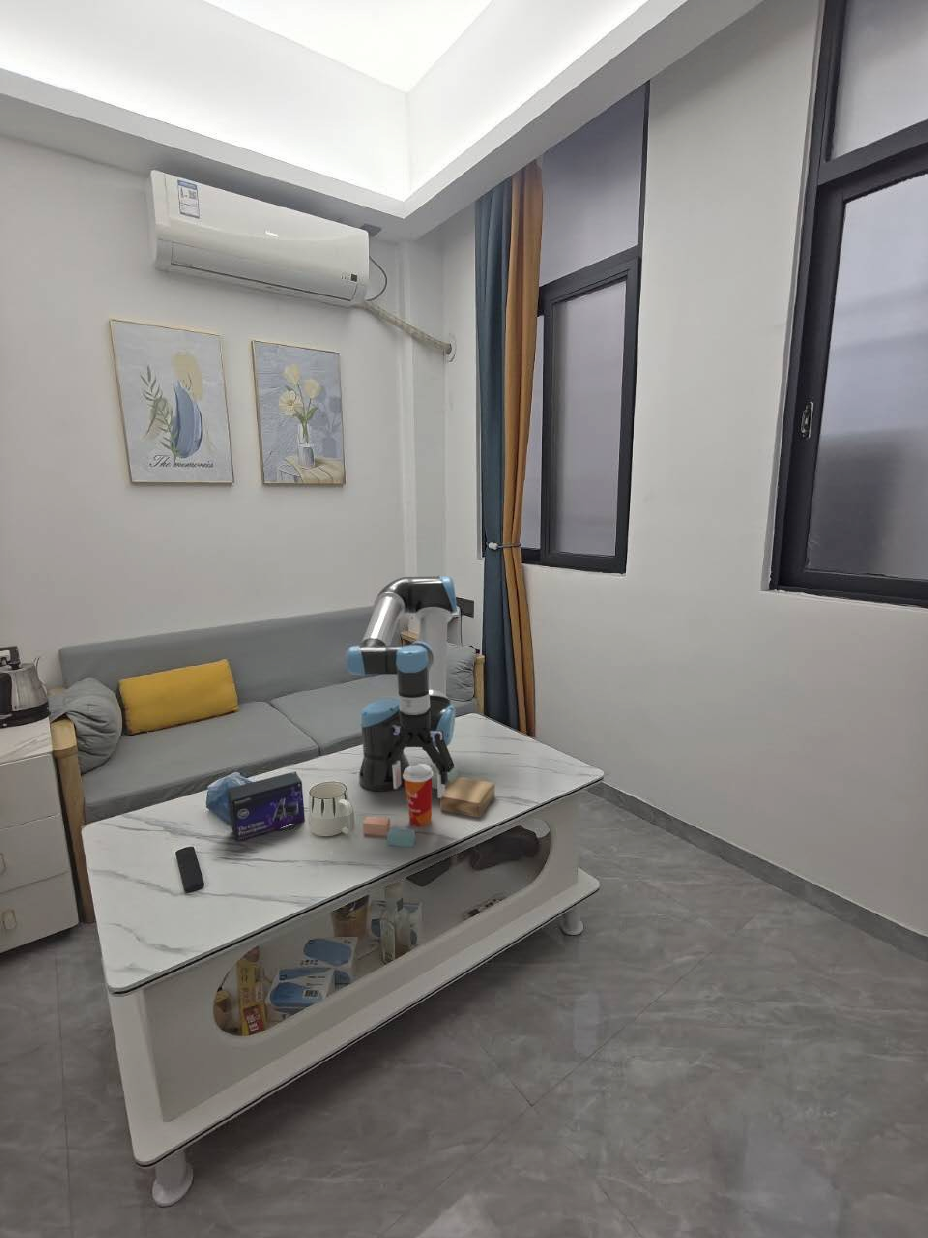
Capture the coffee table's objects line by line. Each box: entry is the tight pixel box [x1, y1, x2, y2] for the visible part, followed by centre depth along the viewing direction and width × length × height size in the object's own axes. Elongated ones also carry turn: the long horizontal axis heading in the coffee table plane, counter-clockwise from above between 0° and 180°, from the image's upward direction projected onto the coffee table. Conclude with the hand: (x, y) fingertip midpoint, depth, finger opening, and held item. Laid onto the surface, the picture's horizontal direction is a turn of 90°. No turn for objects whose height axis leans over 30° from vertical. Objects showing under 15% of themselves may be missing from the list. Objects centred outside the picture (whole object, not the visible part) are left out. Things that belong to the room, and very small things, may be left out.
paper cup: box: [403, 763, 434, 827], centre depth 146 cm, size 8×8×14 cm
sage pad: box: [429, 764, 458, 790], centre depth 166 cm, size 8×8×3 cm
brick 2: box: [386, 826, 416, 848], centre depth 138 cm, size 6×3×3 cm, turn 75°
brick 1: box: [362, 816, 392, 836], centre depth 143 cm, size 6×3×3 cm, turn 80°
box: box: [226, 770, 306, 843], centre depth 145 cm, size 17×7×12 cm, turn 121°
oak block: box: [439, 776, 495, 818], centre depth 154 cm, size 11×11×4 cm
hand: (419, 790), depth 145 cm, fingers open, 12 cm apart
